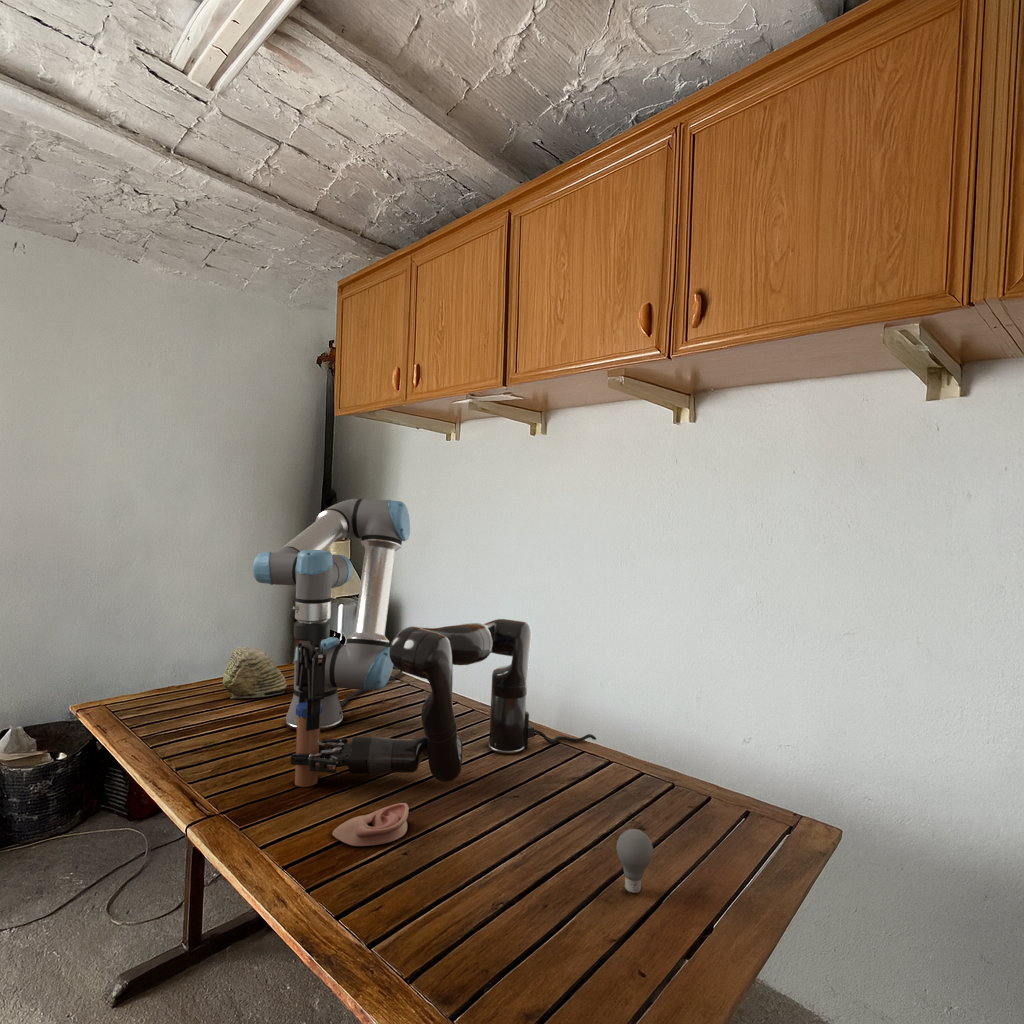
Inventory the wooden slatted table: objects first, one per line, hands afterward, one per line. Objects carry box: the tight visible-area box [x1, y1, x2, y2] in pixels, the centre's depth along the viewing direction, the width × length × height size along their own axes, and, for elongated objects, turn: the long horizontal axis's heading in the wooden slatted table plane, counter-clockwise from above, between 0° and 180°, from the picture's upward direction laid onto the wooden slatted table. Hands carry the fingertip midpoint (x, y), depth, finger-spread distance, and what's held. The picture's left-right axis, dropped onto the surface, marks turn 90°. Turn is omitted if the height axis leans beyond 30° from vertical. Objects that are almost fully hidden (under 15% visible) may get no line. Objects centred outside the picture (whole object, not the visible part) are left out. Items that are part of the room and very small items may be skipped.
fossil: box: [222, 646, 288, 699], centre depth 198 cm, size 9×18×15 cm, turn 132°
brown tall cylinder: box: [294, 716, 321, 788], centre depth 140 cm, size 5×5×16 cm
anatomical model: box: [332, 802, 410, 847], centre depth 121 cm, size 13×4×12 cm
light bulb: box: [615, 828, 654, 894], centre depth 106 cm, size 6×6×10 cm
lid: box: [296, 702, 322, 718], centre depth 140 cm, size 6×6×2 cm
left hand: (308, 724), depth 140 cm, fingers closed on lid, 5 cm apart
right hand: (295, 754), depth 140 cm, fingers closed on brown tall cylinder, 5 cm apart
